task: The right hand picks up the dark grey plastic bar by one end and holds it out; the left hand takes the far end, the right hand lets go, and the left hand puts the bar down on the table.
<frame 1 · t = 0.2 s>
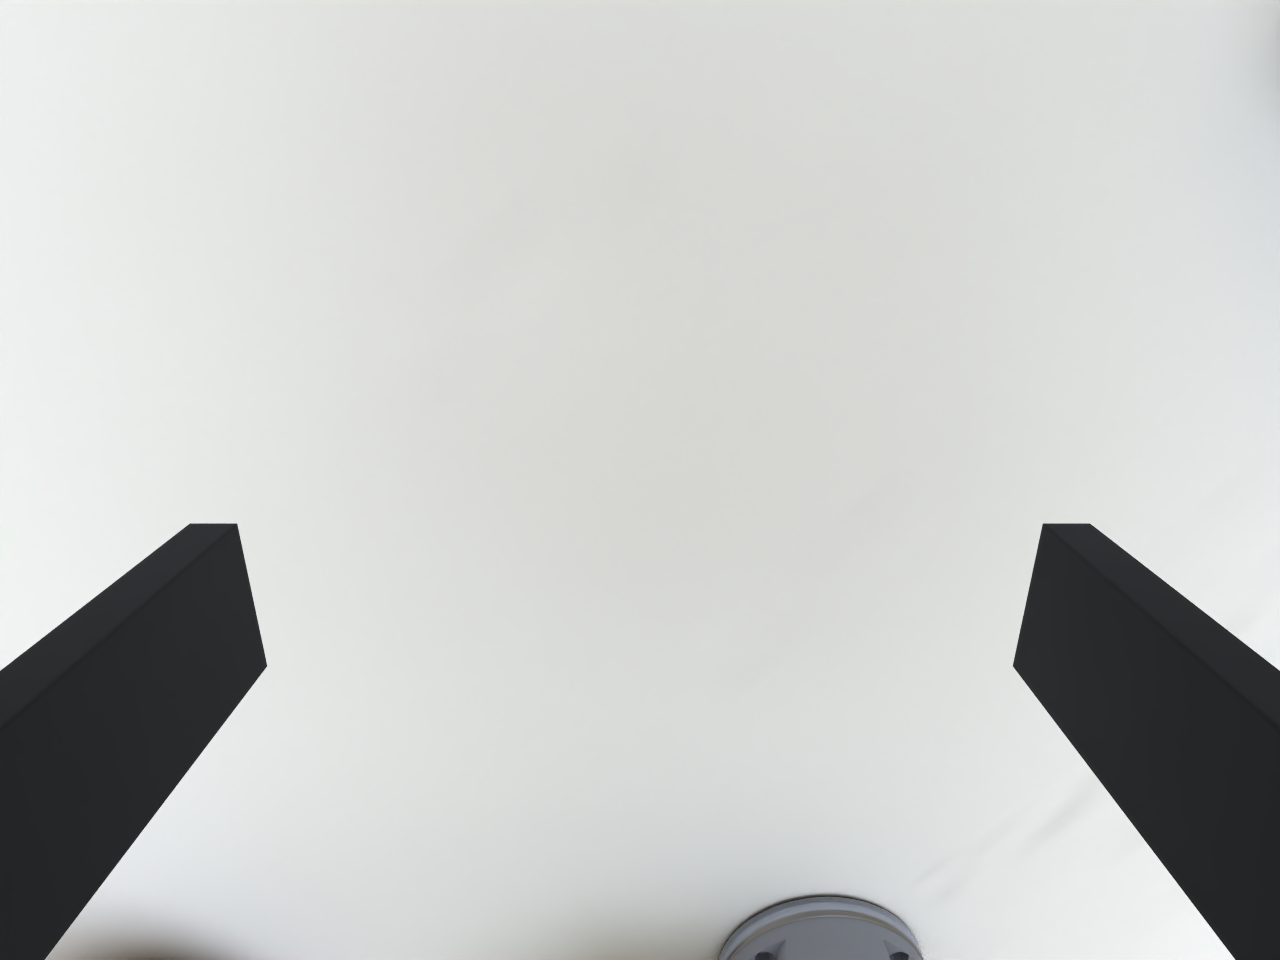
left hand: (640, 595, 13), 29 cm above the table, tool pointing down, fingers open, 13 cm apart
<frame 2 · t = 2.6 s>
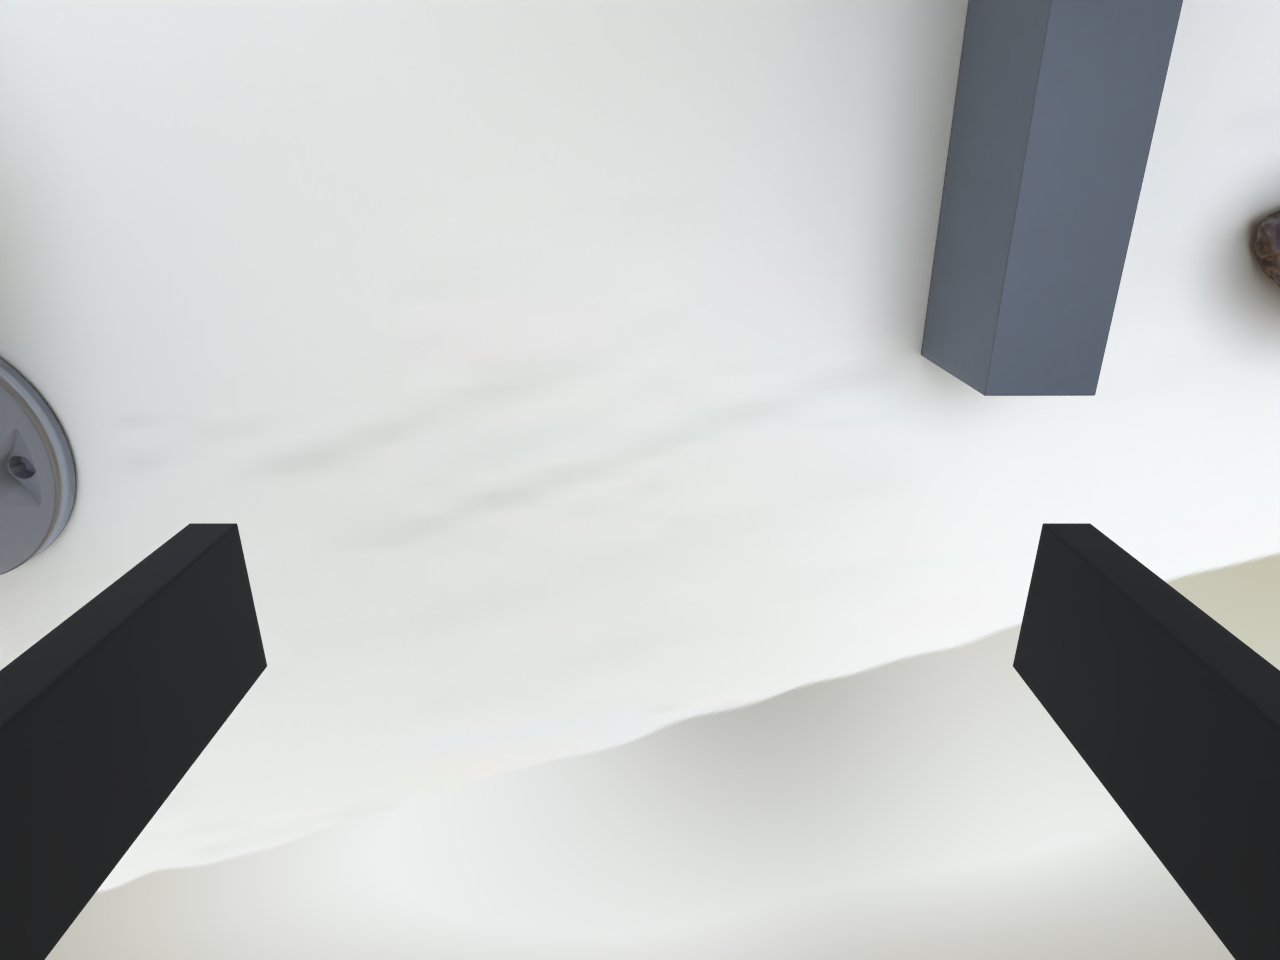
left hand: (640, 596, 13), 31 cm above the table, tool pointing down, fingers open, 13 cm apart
bar: (1009, 79, 38), on the table, touching right hand
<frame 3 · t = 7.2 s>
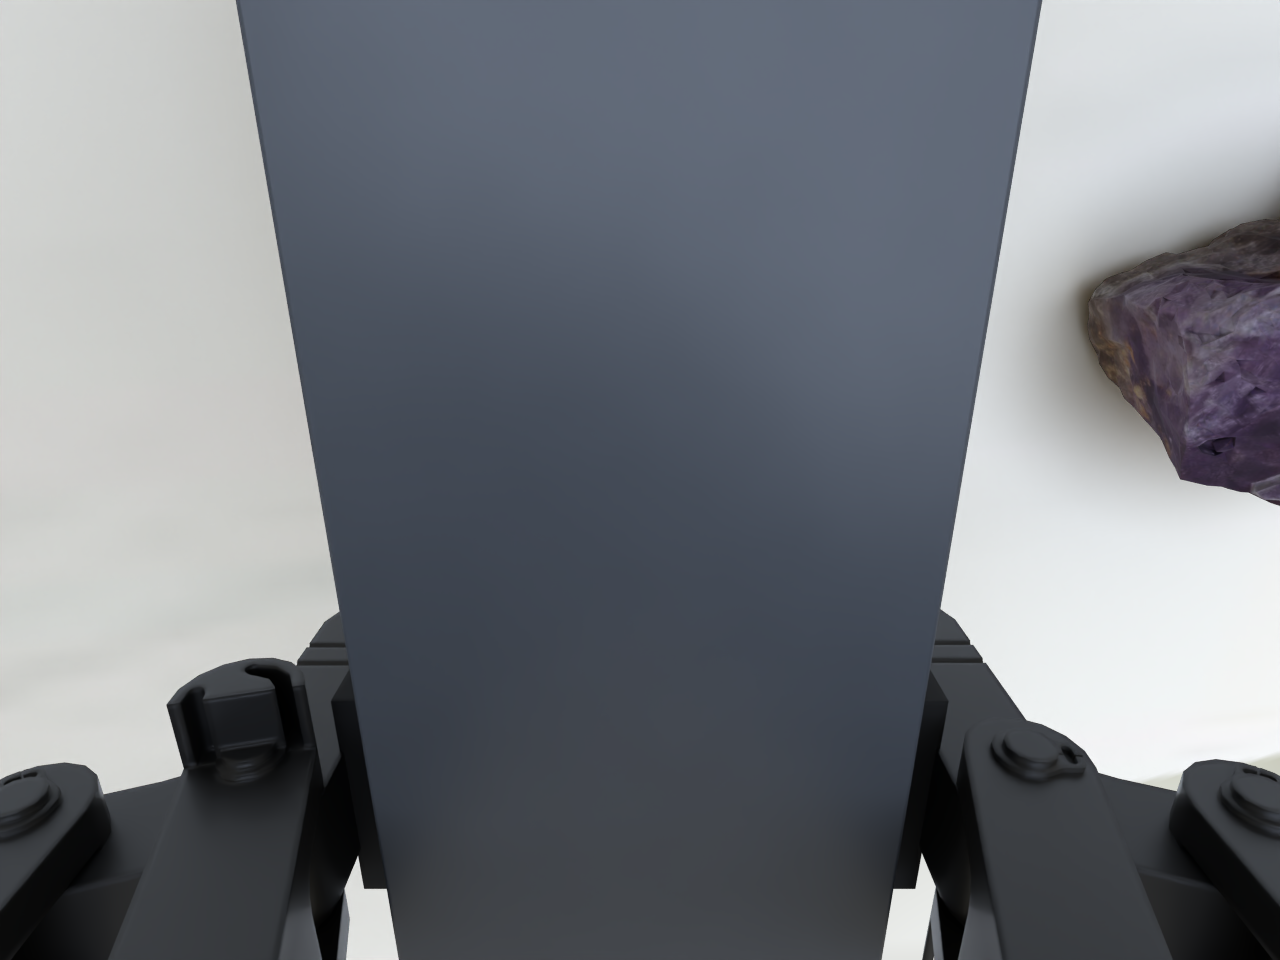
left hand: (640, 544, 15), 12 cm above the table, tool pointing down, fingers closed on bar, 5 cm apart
rock: (1258, 307, 24), on the table
when the right hand's fingers open (15 cm above the table, at t = 8.1 s): bar stays where it is, held by the left hand.
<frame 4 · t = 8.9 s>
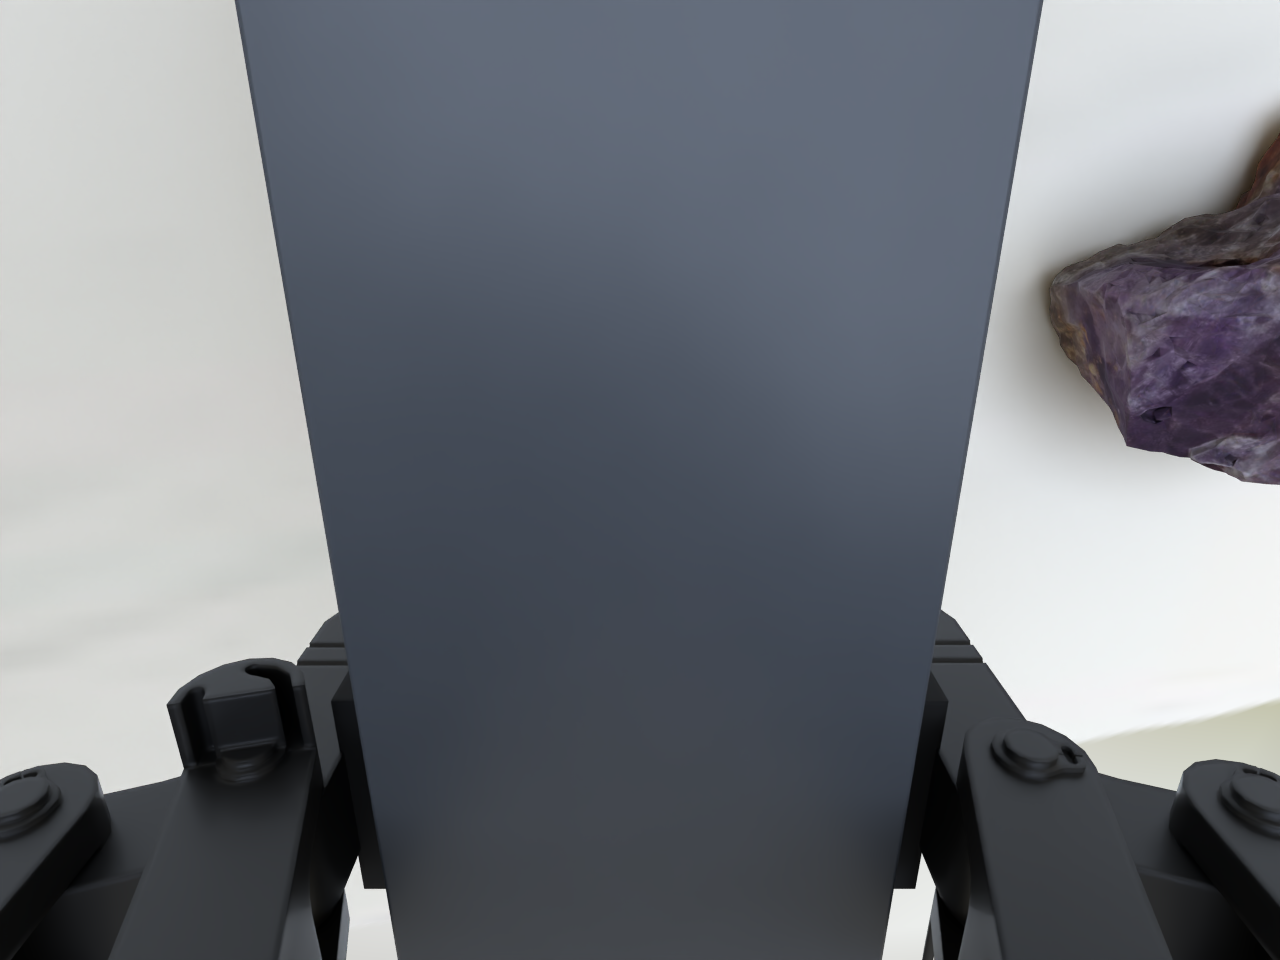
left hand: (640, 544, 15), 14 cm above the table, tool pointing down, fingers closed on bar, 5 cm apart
rock: (1206, 294, 27), on the table
when the left hand's fingers open (2 cm above the table, at t = 17.6 s): bar drops 1 cm, on the table.
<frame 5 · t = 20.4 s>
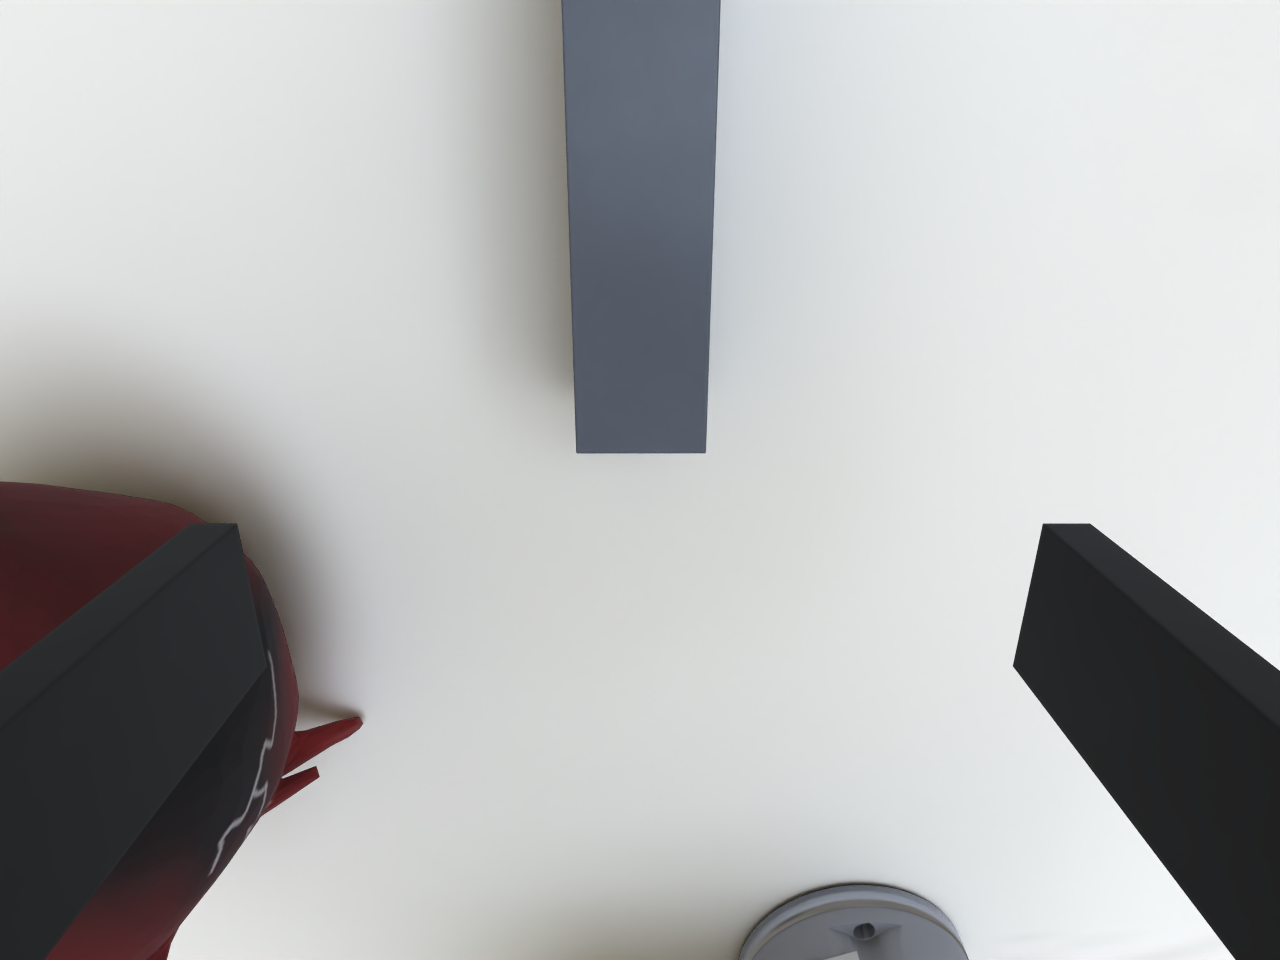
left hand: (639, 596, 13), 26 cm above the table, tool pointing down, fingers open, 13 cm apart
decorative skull: (128, 617, 43), on the table
bar: (640, 84, 33), on the table
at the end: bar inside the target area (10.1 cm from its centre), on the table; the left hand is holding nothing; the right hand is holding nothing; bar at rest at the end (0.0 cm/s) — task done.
